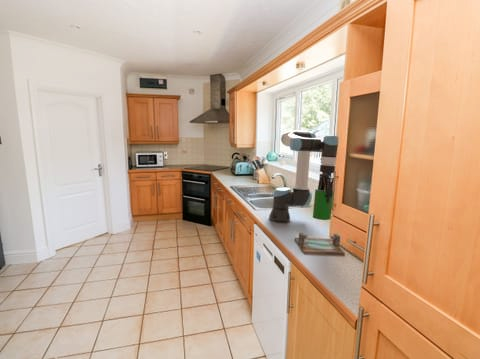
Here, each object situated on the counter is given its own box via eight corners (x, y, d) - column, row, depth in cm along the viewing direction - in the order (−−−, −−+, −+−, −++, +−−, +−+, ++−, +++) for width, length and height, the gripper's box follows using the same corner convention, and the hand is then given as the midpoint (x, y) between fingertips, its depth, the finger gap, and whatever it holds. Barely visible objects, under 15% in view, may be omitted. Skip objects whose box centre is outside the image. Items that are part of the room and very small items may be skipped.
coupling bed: (294, 240, 153) (295, 227, 152) (330, 241, 155) (332, 229, 153) (303, 253, 135) (305, 240, 134) (344, 255, 137) (346, 241, 136)
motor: (317, 213, 148) (321, 179, 145) (333, 217, 143) (337, 181, 139) (310, 217, 140) (314, 181, 137) (326, 221, 135) (331, 183, 131)
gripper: (314, 162, 146) (310, 201, 150) (328, 166, 127) (323, 211, 131) (327, 163, 147) (322, 202, 151) (343, 167, 127) (337, 212, 131)
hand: (322, 206), depth 141 cm, fingers closed on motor, 7 cm apart
